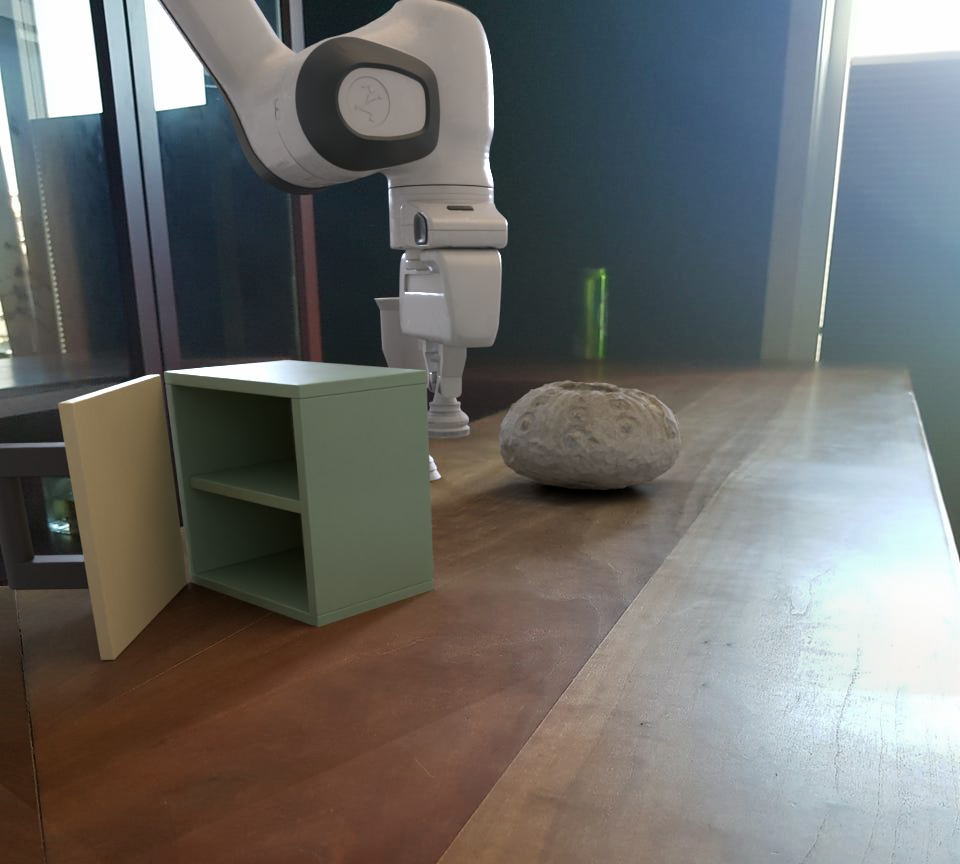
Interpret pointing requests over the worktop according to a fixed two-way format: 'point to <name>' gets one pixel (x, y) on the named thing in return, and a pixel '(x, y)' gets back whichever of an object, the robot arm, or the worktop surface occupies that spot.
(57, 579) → the door
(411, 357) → the chalice
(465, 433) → the chess piece
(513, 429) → the decorative shell
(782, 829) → the worktop surface
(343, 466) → the cupboard
